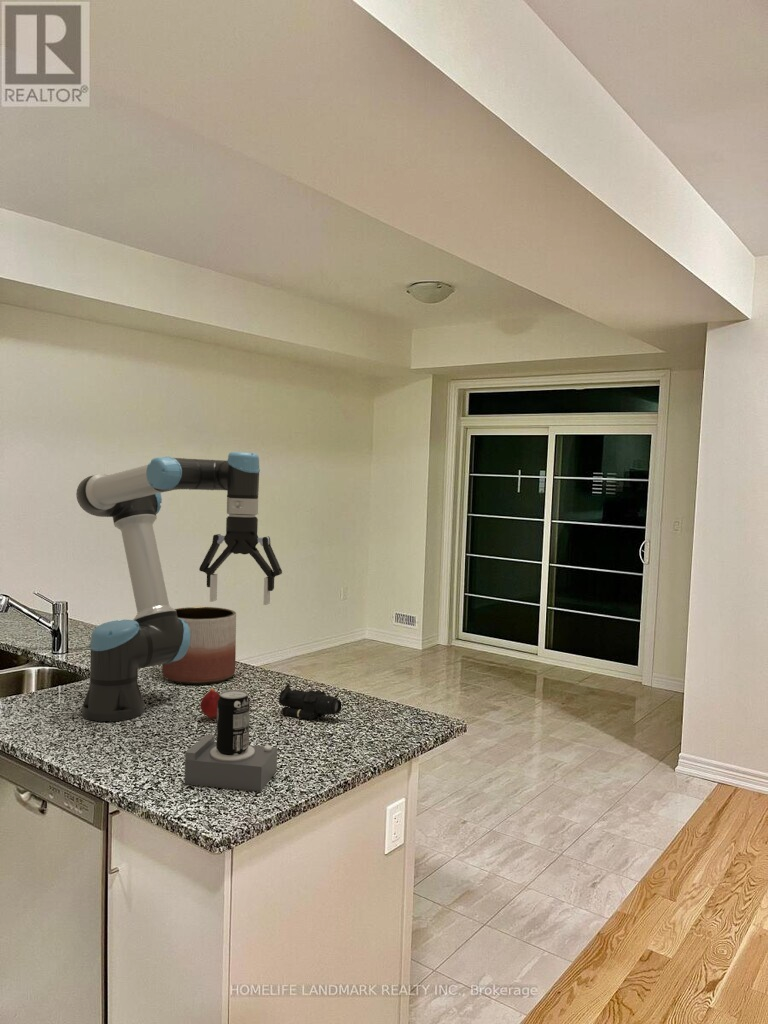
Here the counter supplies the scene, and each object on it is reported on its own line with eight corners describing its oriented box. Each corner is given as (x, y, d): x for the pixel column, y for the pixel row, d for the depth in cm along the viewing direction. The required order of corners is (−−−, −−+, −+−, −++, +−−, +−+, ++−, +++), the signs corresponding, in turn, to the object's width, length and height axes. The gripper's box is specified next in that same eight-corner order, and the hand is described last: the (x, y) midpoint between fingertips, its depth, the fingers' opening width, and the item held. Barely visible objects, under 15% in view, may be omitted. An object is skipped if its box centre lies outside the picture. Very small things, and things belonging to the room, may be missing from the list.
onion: (227, 717, 195) (228, 686, 195) (215, 723, 190) (216, 692, 190) (208, 714, 197) (208, 684, 197) (195, 720, 192) (196, 689, 192)
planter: (249, 675, 237) (251, 612, 237) (197, 690, 219) (199, 622, 218) (199, 664, 249) (201, 604, 248) (146, 677, 231) (148, 612, 230)
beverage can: (218, 744, 159) (219, 688, 159) (250, 745, 160) (251, 689, 159) (214, 756, 153) (215, 697, 152) (246, 756, 153) (248, 698, 153)
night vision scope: (338, 730, 195) (323, 714, 188) (282, 720, 203) (265, 703, 196) (348, 702, 199) (334, 685, 192) (293, 693, 208) (277, 676, 201)
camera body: (184, 784, 152) (185, 752, 152) (205, 764, 163) (206, 734, 163) (260, 791, 150) (261, 759, 150) (276, 770, 161) (277, 740, 160)
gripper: (187, 514, 181) (185, 601, 182) (287, 518, 178) (284, 607, 179) (199, 513, 189) (197, 597, 190) (296, 517, 185) (293, 603, 186)
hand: (239, 602), depth 184 cm, fingers open, 13 cm apart
